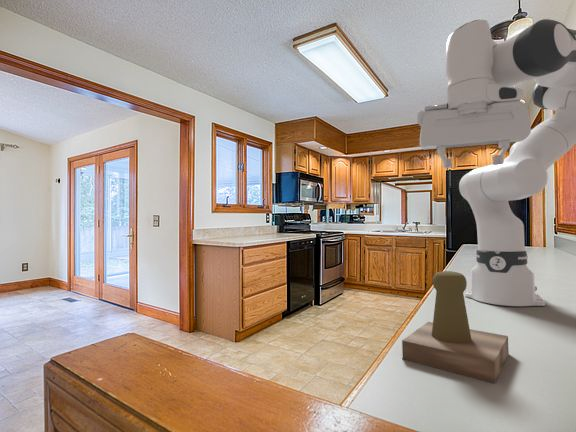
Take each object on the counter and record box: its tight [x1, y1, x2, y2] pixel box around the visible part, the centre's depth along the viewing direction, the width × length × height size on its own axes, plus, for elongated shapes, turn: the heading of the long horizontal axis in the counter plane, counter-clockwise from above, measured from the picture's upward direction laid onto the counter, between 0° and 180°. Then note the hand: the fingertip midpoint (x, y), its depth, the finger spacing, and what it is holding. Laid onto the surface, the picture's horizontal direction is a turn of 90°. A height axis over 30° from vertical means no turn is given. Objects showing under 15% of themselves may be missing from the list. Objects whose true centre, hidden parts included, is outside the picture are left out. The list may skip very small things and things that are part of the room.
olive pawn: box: [432, 270, 471, 344], centre depth 54 cm, size 6×6×11 cm
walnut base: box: [401, 321, 509, 384], centre depth 54 cm, size 13×13×3 cm
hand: (472, 166), depth 67 cm, fingers open, 8 cm apart
